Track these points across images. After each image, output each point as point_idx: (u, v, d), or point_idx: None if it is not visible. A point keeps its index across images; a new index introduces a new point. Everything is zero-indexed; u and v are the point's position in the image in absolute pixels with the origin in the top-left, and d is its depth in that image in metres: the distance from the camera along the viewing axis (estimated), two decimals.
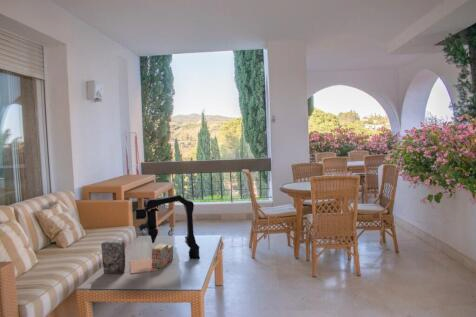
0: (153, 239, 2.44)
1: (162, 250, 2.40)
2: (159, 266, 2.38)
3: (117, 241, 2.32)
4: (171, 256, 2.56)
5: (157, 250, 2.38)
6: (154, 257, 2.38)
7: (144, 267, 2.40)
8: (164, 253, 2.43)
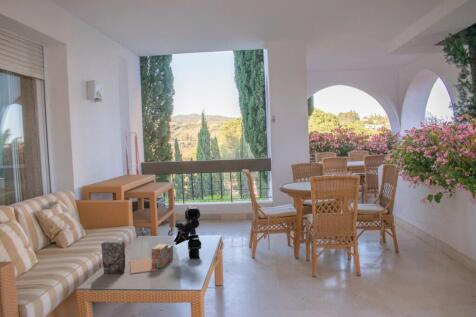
0: (178, 242, 2.47)
1: (162, 250, 2.40)
2: (159, 266, 2.38)
3: (117, 241, 2.32)
4: (171, 256, 2.56)
5: (157, 250, 2.38)
6: (154, 257, 2.38)
7: (144, 267, 2.40)
8: (164, 253, 2.43)
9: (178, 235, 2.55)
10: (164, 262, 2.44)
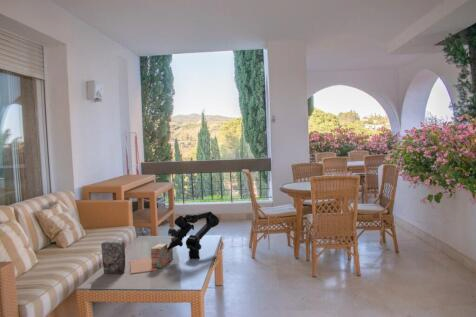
0: (171, 246, 2.49)
1: (161, 249, 2.40)
2: (159, 265, 2.38)
3: (117, 241, 2.32)
4: (171, 256, 2.56)
5: (156, 249, 2.38)
6: (153, 257, 2.39)
7: (144, 267, 2.40)
8: (163, 252, 2.43)
9: None
10: (164, 261, 2.44)
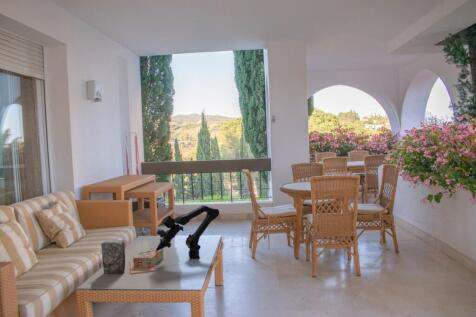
0: (159, 247, 2.47)
1: (136, 256, 2.43)
2: (149, 259, 2.39)
3: (117, 241, 2.32)
4: None
5: (134, 261, 2.41)
6: (141, 264, 2.40)
7: (144, 267, 2.40)
8: (143, 255, 2.46)
9: None
10: (151, 255, 2.45)
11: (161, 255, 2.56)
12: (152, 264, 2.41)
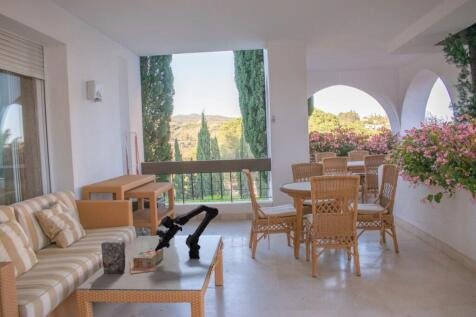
0: (158, 248, 2.47)
1: (136, 256, 2.43)
2: (149, 259, 2.39)
3: (117, 241, 2.32)
4: None
5: (134, 261, 2.41)
6: (141, 264, 2.40)
7: (144, 267, 2.40)
8: (143, 255, 2.46)
9: None
10: (151, 255, 2.45)
11: (161, 255, 2.56)
12: (152, 264, 2.41)
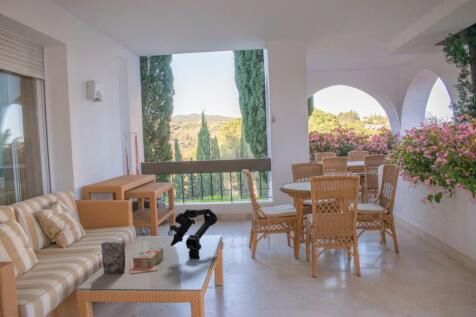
0: (173, 243, 2.51)
1: (136, 256, 2.43)
2: (149, 259, 2.39)
3: (117, 241, 2.32)
4: (158, 249, 2.57)
5: (134, 261, 2.41)
6: (141, 264, 2.40)
7: (144, 267, 2.40)
8: (143, 255, 2.46)
9: None
10: (151, 255, 2.45)
11: (161, 255, 2.56)
12: (152, 264, 2.41)
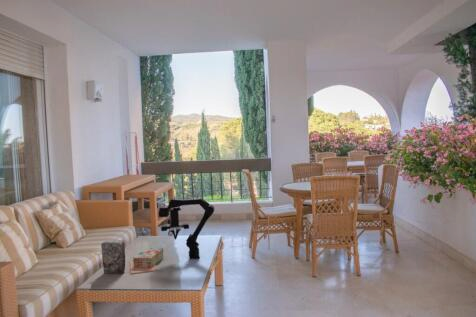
0: (173, 235, 2.58)
1: (136, 256, 2.43)
2: (149, 259, 2.39)
3: (117, 241, 2.32)
4: (158, 249, 2.57)
5: (134, 261, 2.41)
6: (141, 264, 2.40)
7: (144, 267, 2.40)
8: (143, 255, 2.46)
9: None
10: (151, 255, 2.45)
11: (161, 255, 2.56)
12: (152, 264, 2.41)
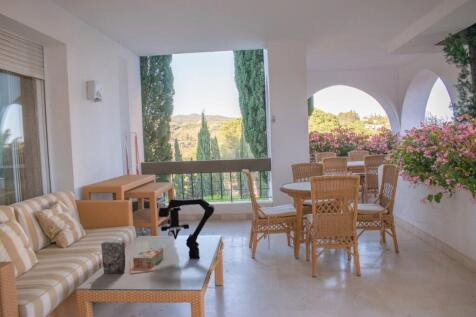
0: (173, 235, 2.58)
1: (136, 256, 2.43)
2: (149, 259, 2.39)
3: (117, 241, 2.32)
4: (158, 249, 2.57)
5: (134, 261, 2.41)
6: (141, 264, 2.40)
7: (144, 267, 2.40)
8: (143, 255, 2.46)
9: None
10: (151, 255, 2.45)
11: (161, 255, 2.56)
12: (152, 264, 2.41)
